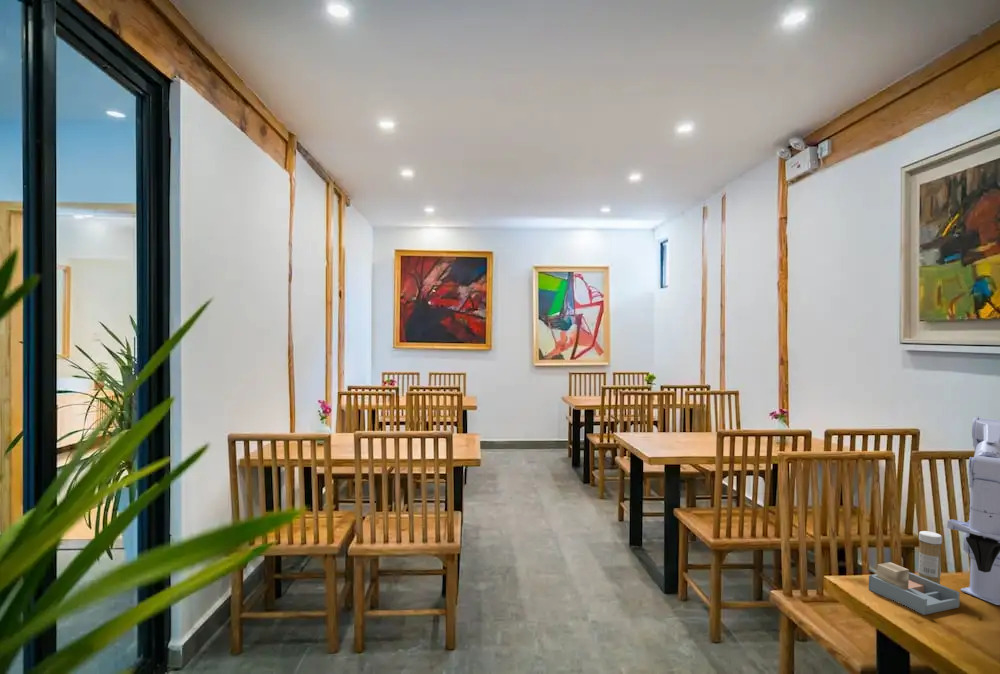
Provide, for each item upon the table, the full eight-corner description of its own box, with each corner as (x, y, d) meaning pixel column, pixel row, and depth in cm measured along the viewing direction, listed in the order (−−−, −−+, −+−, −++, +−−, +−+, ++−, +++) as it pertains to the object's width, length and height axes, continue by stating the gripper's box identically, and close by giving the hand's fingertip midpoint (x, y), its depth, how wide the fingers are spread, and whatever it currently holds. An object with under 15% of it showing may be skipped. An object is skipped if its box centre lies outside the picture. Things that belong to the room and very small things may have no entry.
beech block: (889, 580, 139) (890, 562, 139) (908, 588, 135) (908, 569, 135) (876, 582, 137) (877, 564, 137) (895, 590, 133) (896, 571, 133)
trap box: (902, 583, 142) (902, 569, 142) (959, 607, 130) (959, 592, 130) (868, 589, 138) (869, 575, 138) (924, 615, 126) (924, 599, 126)
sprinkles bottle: (943, 588, 140) (945, 534, 140) (936, 592, 137) (937, 538, 137) (921, 581, 144) (923, 529, 143) (914, 585, 141) (915, 532, 141)
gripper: (939, 502, 131) (937, 560, 131) (1014, 521, 117) (1011, 586, 117) (959, 500, 133) (957, 557, 133) (1034, 519, 120) (1032, 582, 120)
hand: (984, 570), depth 126 cm, fingers closed
